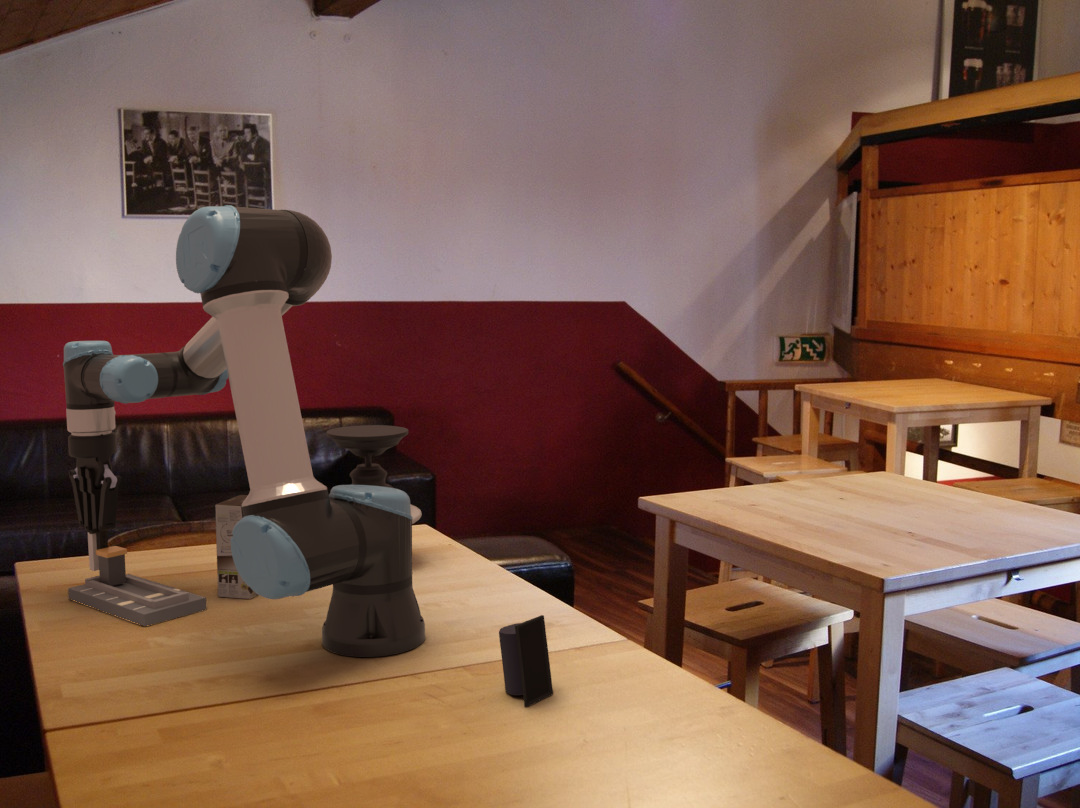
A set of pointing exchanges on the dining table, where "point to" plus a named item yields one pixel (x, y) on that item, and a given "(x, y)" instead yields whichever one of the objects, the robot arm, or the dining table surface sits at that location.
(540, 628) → the speaker
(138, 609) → the console board
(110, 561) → the fader tab
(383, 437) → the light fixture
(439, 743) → the dining table surface
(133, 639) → the dining table surface
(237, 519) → the coffee box
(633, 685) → the dining table surface
